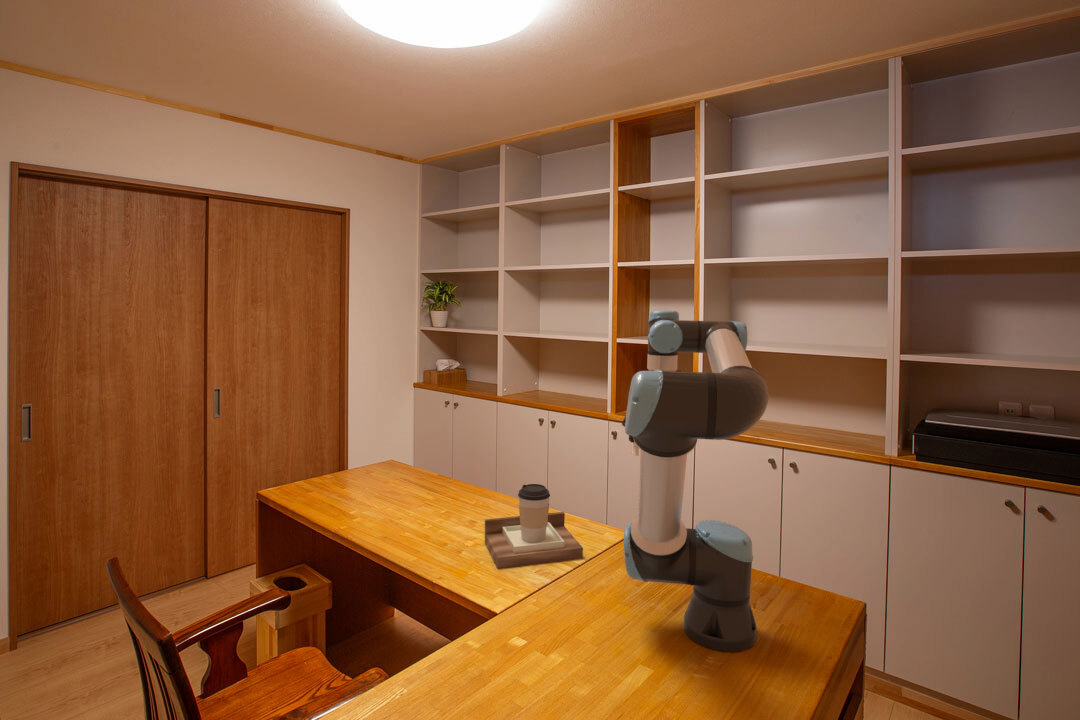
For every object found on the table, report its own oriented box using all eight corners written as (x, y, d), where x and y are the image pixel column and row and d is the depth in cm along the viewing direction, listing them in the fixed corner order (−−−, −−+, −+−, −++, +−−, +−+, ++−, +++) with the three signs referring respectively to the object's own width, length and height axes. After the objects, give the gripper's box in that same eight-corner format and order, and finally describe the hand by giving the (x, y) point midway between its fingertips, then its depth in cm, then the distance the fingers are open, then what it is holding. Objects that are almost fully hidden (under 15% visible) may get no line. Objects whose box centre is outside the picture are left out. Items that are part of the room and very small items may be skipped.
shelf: (582, 558, 164) (583, 533, 164) (497, 568, 158) (497, 543, 157) (562, 534, 181) (563, 511, 180) (484, 542, 174) (484, 519, 173)
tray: (564, 547, 164) (564, 541, 164) (514, 553, 160) (514, 546, 160) (548, 528, 178) (549, 522, 177) (502, 532, 174) (502, 526, 173)
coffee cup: (552, 533, 172) (552, 482, 171) (546, 545, 164) (547, 492, 162) (521, 530, 174) (522, 480, 172) (514, 542, 165) (514, 490, 164)
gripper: (697, 368, 159) (694, 446, 162) (610, 370, 152) (608, 451, 154) (713, 371, 152) (709, 453, 154) (622, 374, 145) (620, 459, 147)
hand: (659, 452), depth 154 cm, fingers open, 13 cm apart
